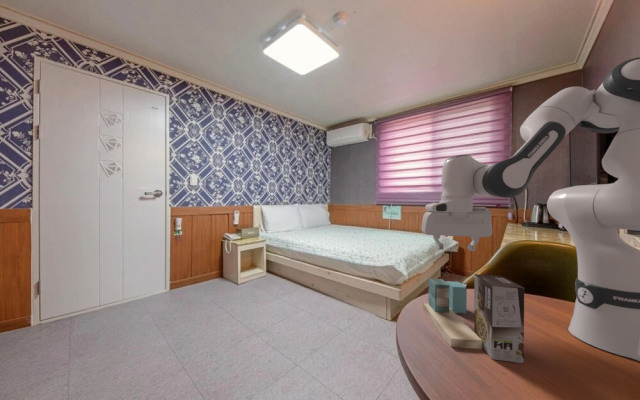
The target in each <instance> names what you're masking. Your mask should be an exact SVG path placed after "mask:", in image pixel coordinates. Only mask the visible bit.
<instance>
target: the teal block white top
mask: <svg viewBox="0 0 640 400" xmlns="http://www.w3.org/2000/svg"><path fill="white" fill-rule="evenodd" d="M445 282H446V283H448V284H449V308H450V309H451V310H452V311H453V312H454V313H455V314H467V304H468V303H467V294H468V293H467V286H465V284H463V283H461V282H459V281H445Z"/></svg>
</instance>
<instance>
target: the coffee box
mask: <svg viewBox="0 0 640 400" xmlns="http://www.w3.org/2000/svg"><path fill="white" fill-rule="evenodd" d="M473 278H474V279H473V281H474V282H473V283H474V285H473V286H474V287H473V288H474V291H473V292H474V296H473V297H474V298H473V299H474V300H473V301H474V302H473V303H474V304H473V305H474V306H473V309H474V310H473V311H474V314H473V317H474V321H473V322H474V323H473V324H474V328H473V329H474V330H473V332H474V333H475V334H476V335H477V336H478V337H479V338H480V339H481V340H482V349H484V351H485V352H486V353H487V354H488V355H489V357H490V358H491V359H492V360H497V361H502V362H504V361H505V362H511V363H516V364H517V363H518V364H523V363H524V361H525V358H524V357H525V355H524V353H525V351H524V349H525V345H524V344H525V289H526V288H525V287H523V286H522V285H520V284H518V283H516V282H514V281H512V280H510V279H508V278H507V277H505V276H503V275H501V274H500V275H499V274H498V275H496V274H477V273H476V274H474V277H473Z"/></svg>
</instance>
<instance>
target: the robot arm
mask: <svg viewBox="0 0 640 400" xmlns="http://www.w3.org/2000/svg"><path fill="white" fill-rule="evenodd" d="M576 126H578V127H580V128H581V129H585V130H586V131H589V132H593V133H598V134H612V133H616V132H617V133H616V134H615V136H614V137H613V139H612V140H611V143H610V145H609V146H608V148H607V150H606V152H605V153H604V155H603V157H602V159H601V166H602V169H603V170H604V172H606V173H607V174H609V175H610V176H612V177H614V178H617V180H616V181H614V182H612V183H604V184H603V183H602V184H601V183H600V184H585V185H582V184H581V185H574V186H573V185H572V186H569V187H564V188H561V189H560V188H559V189H557V190H555V191H553V192H552V193H551V194H550V196H549V197H548V199H547V202H546V207H547V212H548V213H549V215H550V216H551V218H553V219H554V220H555V221H557V222H558V223H559V224H560V225H562V227H564V229H566V231H567V232H568V234H569V235H570V238H571V239H572V241H573V243H574V246H575V250H576V258H577V277H576V278H575V283H574V285H575V286H574V292H575V295H576V299H575V303H574V308H573V314H572V317H571V319H570V324H569V326H568V327H567V328H568V329H567V330H568V332H569V333H570V334H571V335H572V336H574V337H575V338H577V339H579V340H580V341H582V342H584V343H586V344H588V345H591V346H593V347H596V348H597V349H600V350H604V351H606V352H609V353H612V354H614V355H618V356H622V357H626V358H629V359H633V360H636V361H638V362H640V249H638V248H636V247H635V246H632V245H631V244H628V243H627V242H625V241H624V240H623V238H622V237H621V236H620V235H619V233H618V230H630V231H640V56H638V57H637V56H636V57H633V58H630V59H628V60H625V61H622V62H621V63H619V64H618V65H616V66H615V67H614V68H613V69H611V70H610V72H609V73H608V74H607V75H606V76H605V77H604V79H603V81H602V83H601V84H600V86H599V87H598V88H597V90H596V89H592V90H591V89H588V88H585V87H583V86H569V87H567V88H563V89H561V90H560V91H558V92H557V93H555V94H553V95H552V96H551V97H549V98H548V99H547V100H545V101H544V102H543V103H542V104H540V105H539V106H538V107H536V109H535V110H534V111H532V113H530V114H529V115H528V117H526V119H525V120H524V122H523V123H522V124H521V125H520V128H519V133H520V134H519V135H520V137H521V138H522V140H523V141H524V143H523V145H521V146H520V148H519V149H518V150H517V151H516V152H515V153H514V154H513V155H512V156H510V157H509V158H507V159H505V160H502V161H499V162H496V163H493V164H489V165H488V164H486V163H483V162H480V161H479V160H477V159H475V158H473V156H472V155H471V154H461V155H455V156H452V157H449V158H448V159H446V160H445V161H444V162H443V164H442V165H443V166H442V169H441V180H440V181H441V188H442V192H441V195H440V200H439V201H434V202H431V203H429V204H426V205H425V206H424V207H425V211H426V212H425V213H423V216H422V221H421V231H422V233H423V234H424V235H426V236H432V239H433V240H434V242H435V243H436V249H437V250H438V251H439V250H440V251H441V250H444V244H443V243H441V241H440V239H441V236H451V237H453V236H455V237H470V239H471V242H470V243H469V244H468V243H467V247H466V249H467V250H468V251H469V252H475V251H476V245H477V244H478V243H479V242H480V238H490V237H491V236H492V235H493V225H492V224H493V223H492V211H491V210H490V209H488V208H487V207H486V206H482V207H481V206H480V207H479V206H474V196H476V197H483V198H484V197H485V198H486V197H489V198H492V197H493V198H495V197H496V198H506V199H507V198H510V199H511V198H515V197H517V196H519V195H521V194H522V193H524V192H525V191H526V189H527V188H528V186H529V185H530V182H531V180H532V178H533V175H534V174H535V172H536V171H537V169H538V168H539V167H540V166H541V165H542V164H543V163H544V162H545V161H546V159H548V158H549V156H550V155H551V154H552V153H553V151H555V150H556V149H557V147H559V145H560V144H561V143H562V141H563V140H564V138H565V137H566V136H567V135H568V134H569V133H570V132H571V131H572V130H573V129H574V128H575V127H576ZM617 229H618V230H617Z"/></svg>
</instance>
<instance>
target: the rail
mask: <svg viewBox="0 0 640 400" xmlns="http://www.w3.org/2000/svg"><path fill="white" fill-rule="evenodd" d="M422 311H424V313H425V314H426V315H427V317H428V319H429V320H430V321H431V322H432V324H433V325H434V326H435V328H436V329H437V331H438V332H439V333H440V334H441V336H442V337H443V339H444V340H445V341H446V343H447V344H448V345H449V347H450V348H457V349H458V348H460V349H473V350H474V349H475V350H483V347H482V340H481V339H480V338H479V337H478V336H477V335H476V334H475V333H474V330H473V329H472V328H470V326H469V325H468V324H466V322H464V321H463V319H461V317H460V316H459V315H457V313H454V312H453V311H452V310H451V309H450V308H449V284H448V283H446V281H445V280H444V279H442V278H428V302H427V303H422Z"/></svg>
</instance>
